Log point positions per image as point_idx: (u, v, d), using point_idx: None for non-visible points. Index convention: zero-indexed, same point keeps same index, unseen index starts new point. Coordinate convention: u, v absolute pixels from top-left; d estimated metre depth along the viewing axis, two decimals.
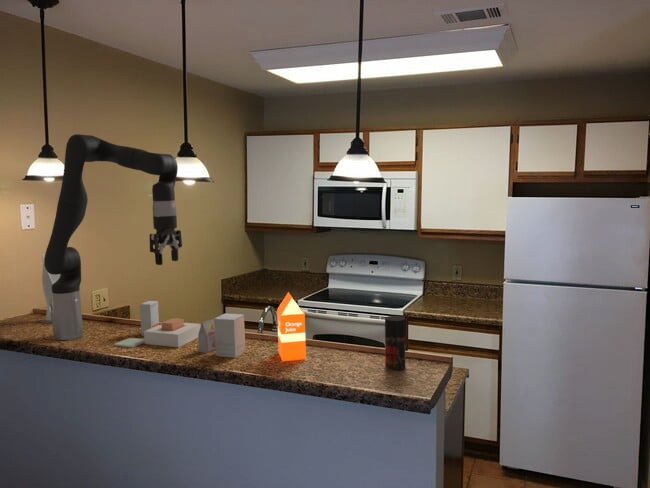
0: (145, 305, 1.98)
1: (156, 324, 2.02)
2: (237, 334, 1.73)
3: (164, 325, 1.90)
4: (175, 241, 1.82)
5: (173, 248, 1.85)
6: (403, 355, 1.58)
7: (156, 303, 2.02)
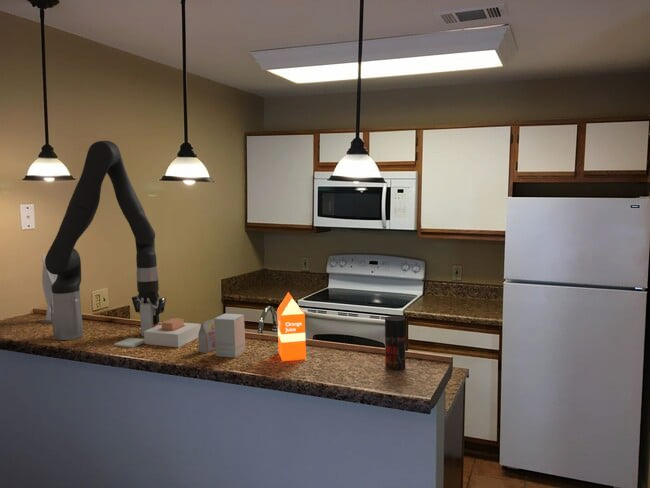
0: (145, 305, 1.98)
1: None
2: (237, 334, 1.73)
3: (164, 325, 1.90)
4: None
5: None
6: (403, 355, 1.58)
7: None
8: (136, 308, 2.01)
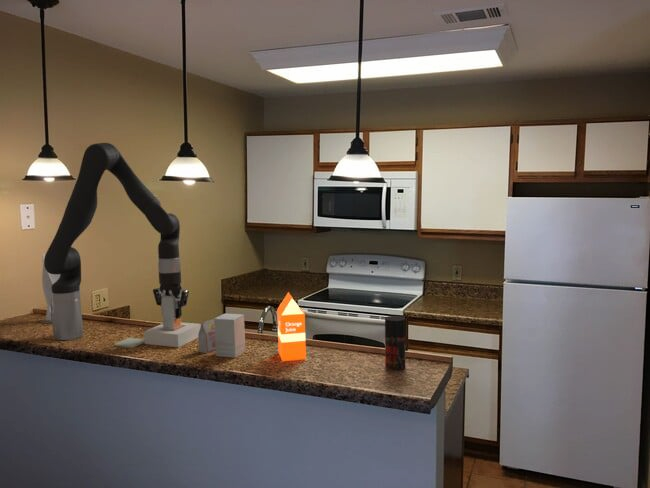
0: (167, 298, 1.89)
1: (178, 318, 1.93)
2: (237, 334, 1.73)
3: None
4: None
5: None
6: (403, 355, 1.58)
7: None
8: (157, 301, 1.93)
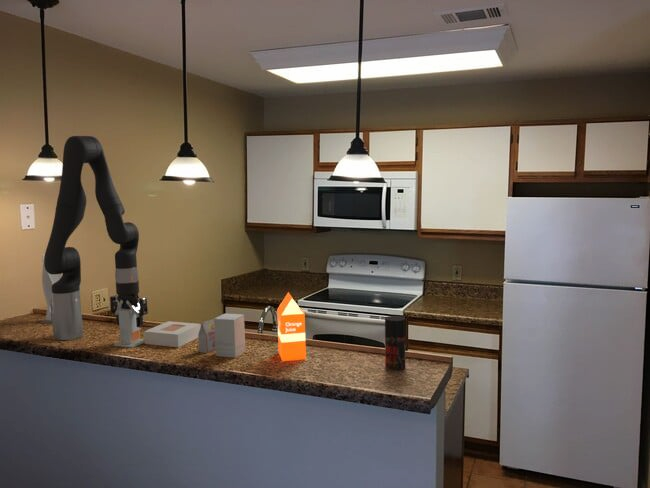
0: (123, 311, 1.86)
1: (136, 331, 1.90)
2: (237, 334, 1.73)
3: None
4: None
5: None
6: (403, 355, 1.58)
7: None
8: (112, 309, 1.90)
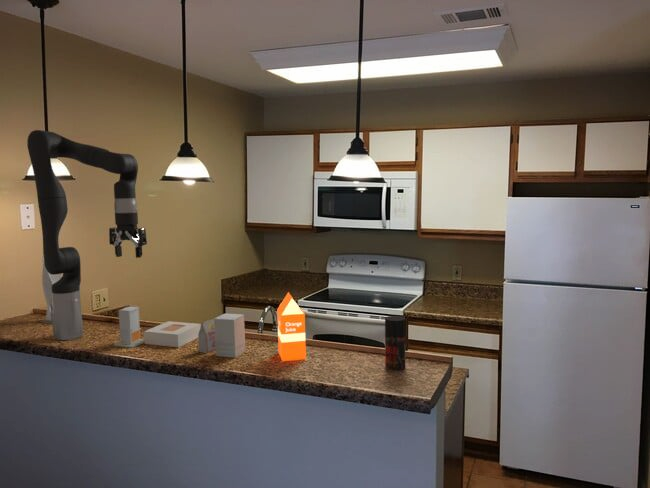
0: (124, 311, 1.86)
1: (136, 331, 1.90)
2: (237, 334, 1.73)
3: None
4: None
5: (118, 244, 1.92)
6: (403, 355, 1.58)
7: (136, 309, 1.90)
8: (111, 240, 1.92)
